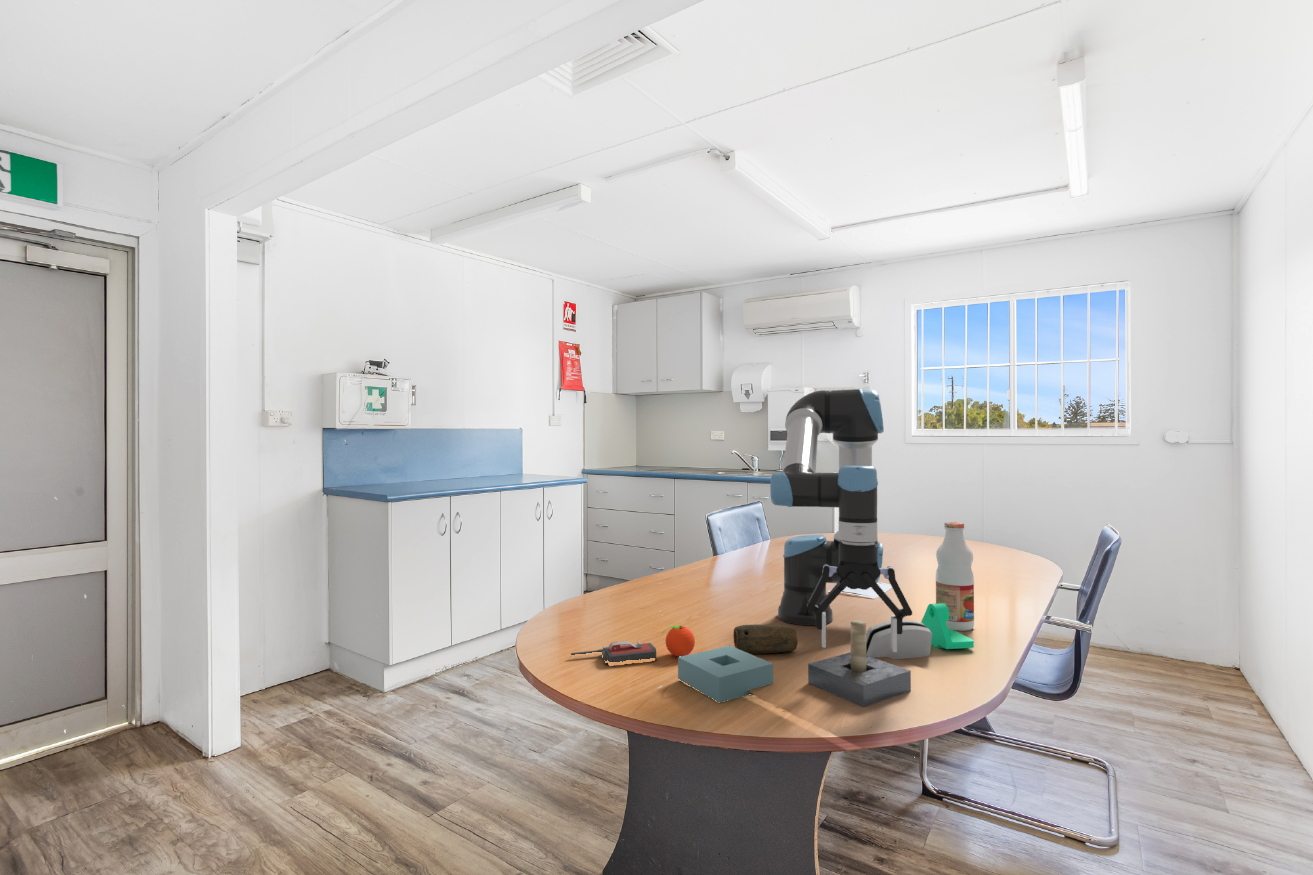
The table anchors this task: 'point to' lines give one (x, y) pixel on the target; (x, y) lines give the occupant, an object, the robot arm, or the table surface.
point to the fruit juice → (955, 578)
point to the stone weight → (765, 638)
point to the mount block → (859, 679)
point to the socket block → (724, 672)
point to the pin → (858, 646)
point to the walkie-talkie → (625, 651)
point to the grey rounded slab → (899, 640)
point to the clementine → (680, 641)
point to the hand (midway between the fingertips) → (858, 647)
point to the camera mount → (943, 629)
